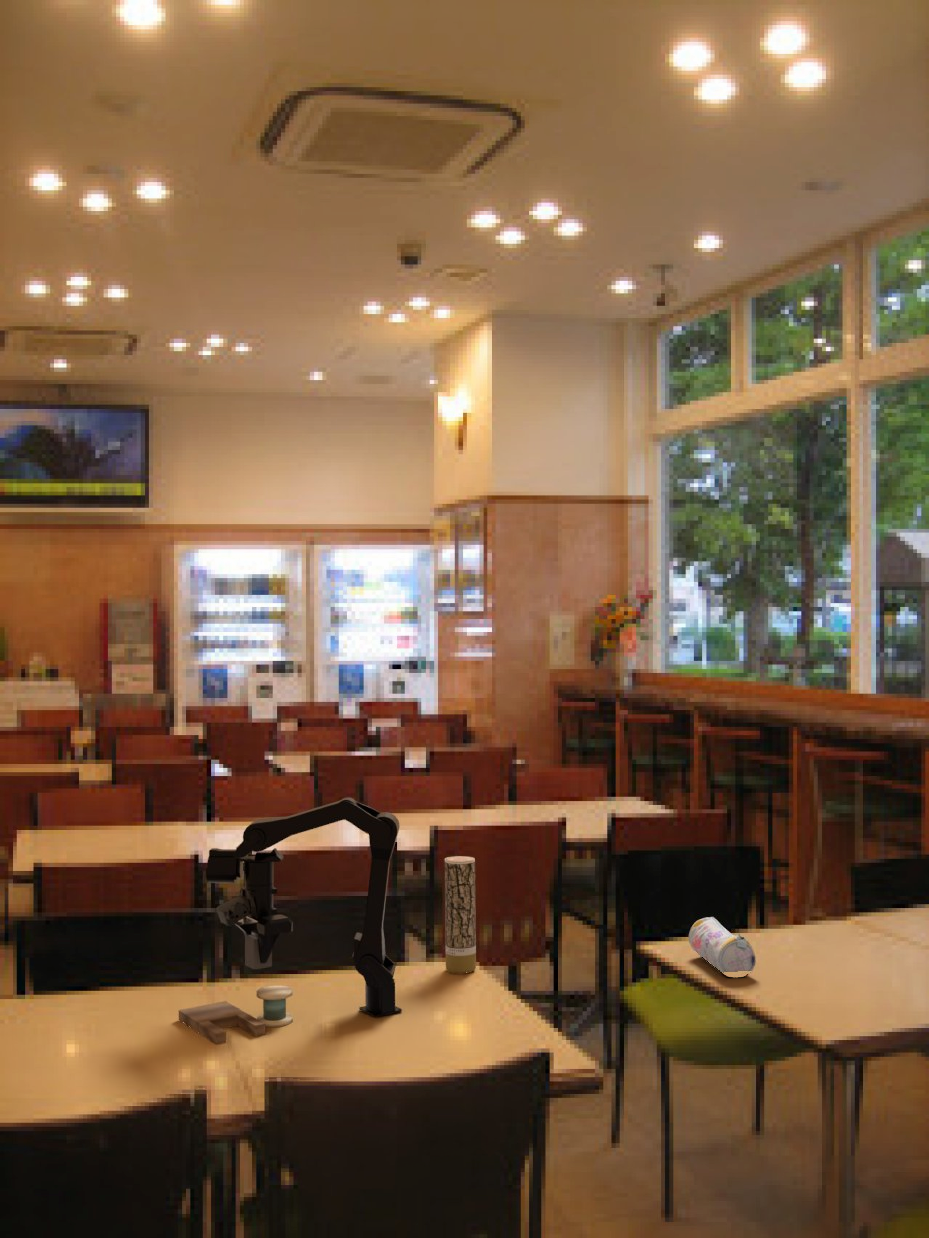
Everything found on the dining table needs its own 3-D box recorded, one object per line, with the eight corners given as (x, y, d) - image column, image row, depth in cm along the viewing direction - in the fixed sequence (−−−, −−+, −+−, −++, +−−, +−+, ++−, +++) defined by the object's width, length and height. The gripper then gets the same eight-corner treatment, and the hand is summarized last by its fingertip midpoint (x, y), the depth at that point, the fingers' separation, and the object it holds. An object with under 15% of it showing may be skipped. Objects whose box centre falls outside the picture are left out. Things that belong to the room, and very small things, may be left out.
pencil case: (757, 979, 277) (757, 935, 277) (719, 981, 276) (719, 937, 276) (722, 954, 298) (721, 914, 298) (686, 957, 296) (686, 916, 296)
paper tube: (472, 975, 282) (471, 862, 282) (442, 974, 283) (441, 861, 283) (478, 967, 289) (477, 856, 289) (449, 965, 290) (448, 855, 290)
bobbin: (298, 1022, 250) (298, 991, 250) (266, 1029, 246) (266, 998, 246) (282, 1013, 256) (282, 983, 256) (250, 1020, 252) (250, 989, 252)
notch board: (265, 1034, 243) (265, 1023, 243) (216, 1044, 237) (216, 1033, 237) (225, 1010, 258) (225, 1001, 258) (178, 1020, 252) (178, 1010, 252)
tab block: (271, 966, 256) (272, 935, 256) (253, 969, 254) (253, 937, 254) (262, 962, 260) (263, 931, 260) (244, 964, 257) (244, 933, 257)
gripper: (202, 879, 260) (202, 956, 260) (242, 896, 245) (241, 977, 245) (252, 873, 266) (252, 948, 266) (294, 889, 251) (293, 968, 251)
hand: (258, 960), depth 257 cm, fingers closed on tab block, 4 cm apart
